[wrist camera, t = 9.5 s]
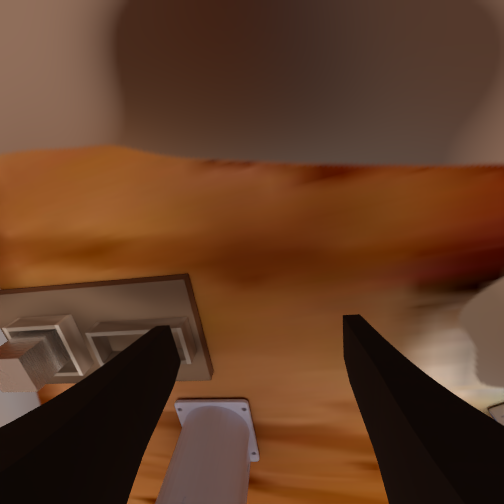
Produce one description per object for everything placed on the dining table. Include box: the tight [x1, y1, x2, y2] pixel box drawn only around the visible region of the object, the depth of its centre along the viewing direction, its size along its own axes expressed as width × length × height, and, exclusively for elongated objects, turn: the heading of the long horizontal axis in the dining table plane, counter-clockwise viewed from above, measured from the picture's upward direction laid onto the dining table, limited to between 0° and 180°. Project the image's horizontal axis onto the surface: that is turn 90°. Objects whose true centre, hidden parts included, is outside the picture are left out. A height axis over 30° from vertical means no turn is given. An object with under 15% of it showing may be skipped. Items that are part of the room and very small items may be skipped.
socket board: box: [0, 274, 213, 384], centre depth 24 cm, size 11×20×2 cm, turn 98°
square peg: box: [0, 329, 71, 392], centre depth 23 cm, size 4×4×4 cm
